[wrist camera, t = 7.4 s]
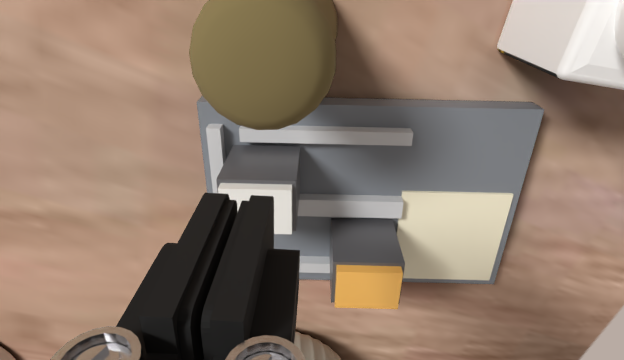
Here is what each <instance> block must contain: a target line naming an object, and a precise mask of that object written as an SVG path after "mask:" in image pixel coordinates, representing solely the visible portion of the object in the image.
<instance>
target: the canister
mask: <svg viewBox="0 0 624 360" xmlns="http://www.w3.org/2000/svg"><path fill="white" fill-rule="evenodd" d="M294 345H296V346H297V347H298V348H299V349H300V351H301V352H302V353H303V355H304V356H305V360H341V359H340V357H339V355H338V354H337V353H336V352H334V351H332V350H331V348H330V347H329V346H327V345H325V344H323V343H322V342H321V341H320V340H318V339H313V338H311V336H309V335H304V334H301V333H299V332H295V340H294Z"/></svg>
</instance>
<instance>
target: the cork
mask: <svg viewBox="0 0 624 360" xmlns="http://www.w3.org/2000/svg"><path fill="white" fill-rule="evenodd" d="M336 37H337V14H336V11H335V7H334V4H333V1H332V0H209V1H208V2H207V3H206V4H205V5H204V6H203V8H202V10H201V12H200V14H199V16H198V18H197V20H196V22H195V24H194V26H193V30H192V37H191V43H190V50H189V55H190V62H191V68H192V74H193V77H194V79H195V81H196V83H197V85H198V87H199V89H200V92H201V94H202V96H203V97H204V98H205V99H206V100H207V101H208V103H209V104H210V105H211V106H212V107H213V108H214V109H215V110H216V111H217V113H219V114H220V115H222V116H224V117H225V118H227V119H228V120H230V121H232V122H233V123H235V124H237V125H240V126H244V127H247V128H251V129H255V130H278V129H281V128H284V127H287V126H290V125H293V124H296V123H298V122H299V121H301V120H302V119H303V118H305V117H306V116H307V115H309V114H310V113H311V112H313V111H314V110H315V109H317V107H318V106H319V104H320V103H321V102H322V100H323V99H324V97H325V96H326V95H327V93H328V92H329V90H330V87H331V83H332V80H333V77H334V74H335V71H336V44H335V40H336Z"/></svg>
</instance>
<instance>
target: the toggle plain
mask: <svg viewBox="0 0 624 360" xmlns="http://www.w3.org/2000/svg"><path fill="white" fill-rule="evenodd" d="M216 182H217V191H218V193H222V194H228V195H229V198H230V200H236V201H237V211H238V210H239V207H240V204H241V202H242V201H243V200H244V201H249V199H250V196H251V195H258V196H273V197H274V234H292V231H296V228H297V218H298V207H299V196H300V146H259V145H233V147H232V149H231V151H230V153H229V155H228V157H227V159H226V161H225V163H224V165H223V167H222V169H221V171H220V173H219V175H218V177H217V179H216Z"/></svg>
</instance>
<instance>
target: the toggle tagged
mask: <svg viewBox="0 0 624 360" xmlns="http://www.w3.org/2000/svg"><path fill="white" fill-rule="evenodd" d="M329 257H330V288H331V302H335V307H339V308H378V309H398V304H399V300H400V294H401V287H402V281H403V275H404V268H405V261H404V258H403V254H402V251H401V248H400V244H399V241H398V237H397V234H396V230H395V227H394V224H393V220H392V219H355V218H331V231H330V253H329Z"/></svg>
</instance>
